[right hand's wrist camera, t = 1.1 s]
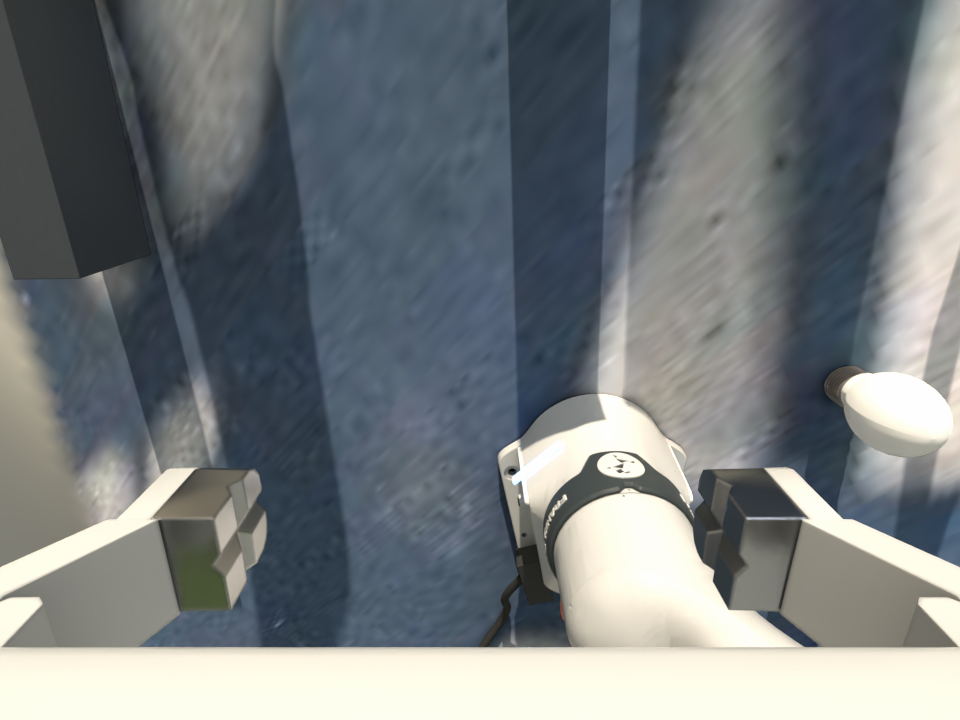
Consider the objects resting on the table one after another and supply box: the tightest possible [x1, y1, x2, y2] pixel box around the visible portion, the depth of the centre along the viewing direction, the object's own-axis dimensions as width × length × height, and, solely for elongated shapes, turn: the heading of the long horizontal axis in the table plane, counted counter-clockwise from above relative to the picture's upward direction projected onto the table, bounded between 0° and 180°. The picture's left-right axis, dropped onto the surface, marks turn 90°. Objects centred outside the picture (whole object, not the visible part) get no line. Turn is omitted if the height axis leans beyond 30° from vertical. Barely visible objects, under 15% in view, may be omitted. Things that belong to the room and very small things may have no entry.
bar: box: [0, 0, 151, 279], centre depth 41 cm, size 23×5×9 cm, turn 1°
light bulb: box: [824, 366, 953, 457], centre depth 48 cm, size 7×7×11 cm
